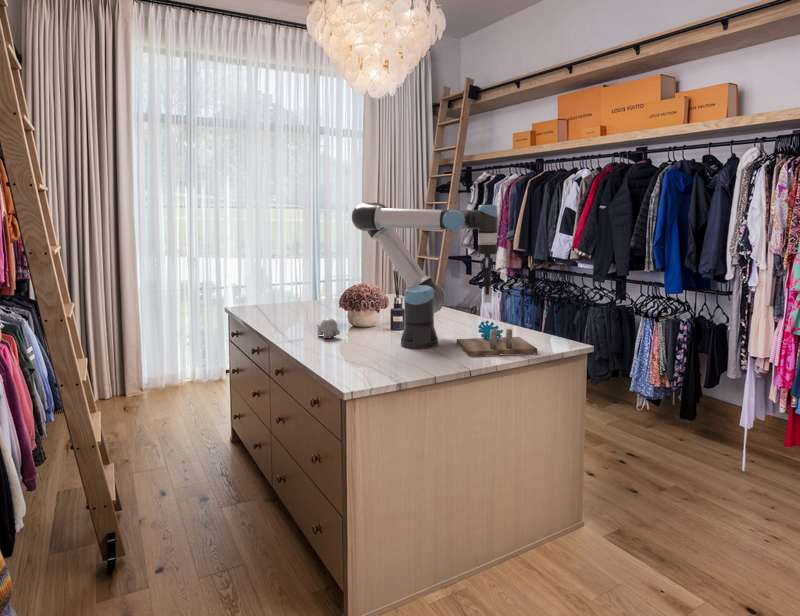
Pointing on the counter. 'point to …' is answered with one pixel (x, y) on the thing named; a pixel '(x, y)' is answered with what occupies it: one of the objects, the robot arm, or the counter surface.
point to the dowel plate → (501, 346)
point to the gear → (487, 329)
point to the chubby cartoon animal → (328, 328)
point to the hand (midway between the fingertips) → (487, 302)
